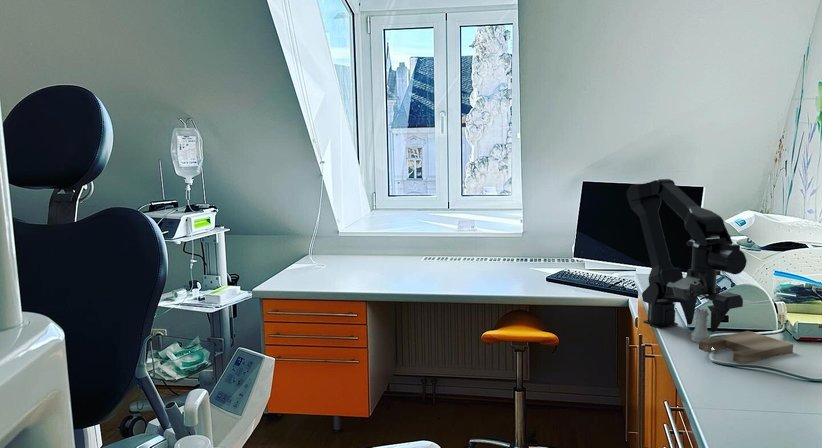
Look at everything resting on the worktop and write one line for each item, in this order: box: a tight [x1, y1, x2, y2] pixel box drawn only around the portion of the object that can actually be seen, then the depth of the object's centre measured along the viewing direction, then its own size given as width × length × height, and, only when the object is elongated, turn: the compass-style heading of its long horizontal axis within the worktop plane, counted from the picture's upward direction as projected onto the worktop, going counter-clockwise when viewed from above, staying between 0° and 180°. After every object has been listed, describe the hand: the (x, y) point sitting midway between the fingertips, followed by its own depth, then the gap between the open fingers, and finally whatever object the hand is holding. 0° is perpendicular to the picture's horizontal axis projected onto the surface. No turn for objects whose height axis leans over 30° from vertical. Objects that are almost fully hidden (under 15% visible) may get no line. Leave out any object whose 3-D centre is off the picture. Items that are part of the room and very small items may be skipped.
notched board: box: [698, 330, 794, 365], centre depth 162 cm, size 12×17×2 cm
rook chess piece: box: [690, 307, 711, 344], centre depth 169 cm, size 4×4×8 cm
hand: (701, 328), depth 169 cm, fingers open, 7 cm apart
